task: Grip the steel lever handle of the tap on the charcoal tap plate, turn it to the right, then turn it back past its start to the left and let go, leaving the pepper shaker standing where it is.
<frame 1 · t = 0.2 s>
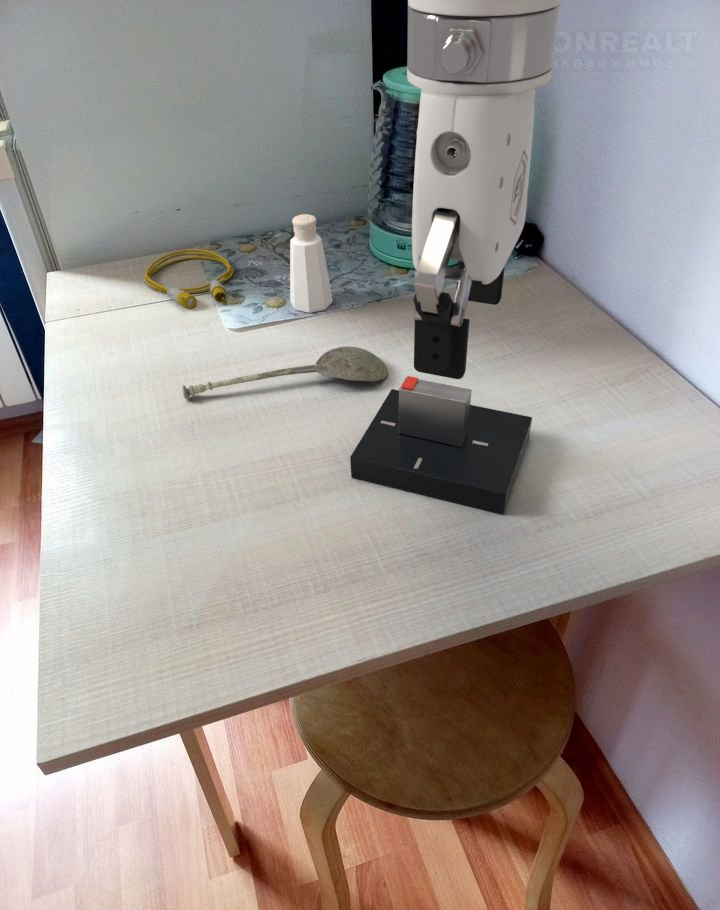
hand: (460, 334, 48), 18 cm above the table, tool pointing down, fingers open, 9 cm apart
pepper shaker: (311, 304, 89), on the table
tap plate: (442, 457, 66), on the table
soupspoon: (288, 385, 76), on the table
tap handle: (434, 411, 63), point 5 cm above the table, hinge at 0.0°
extension cord: (189, 283, 95), on the table
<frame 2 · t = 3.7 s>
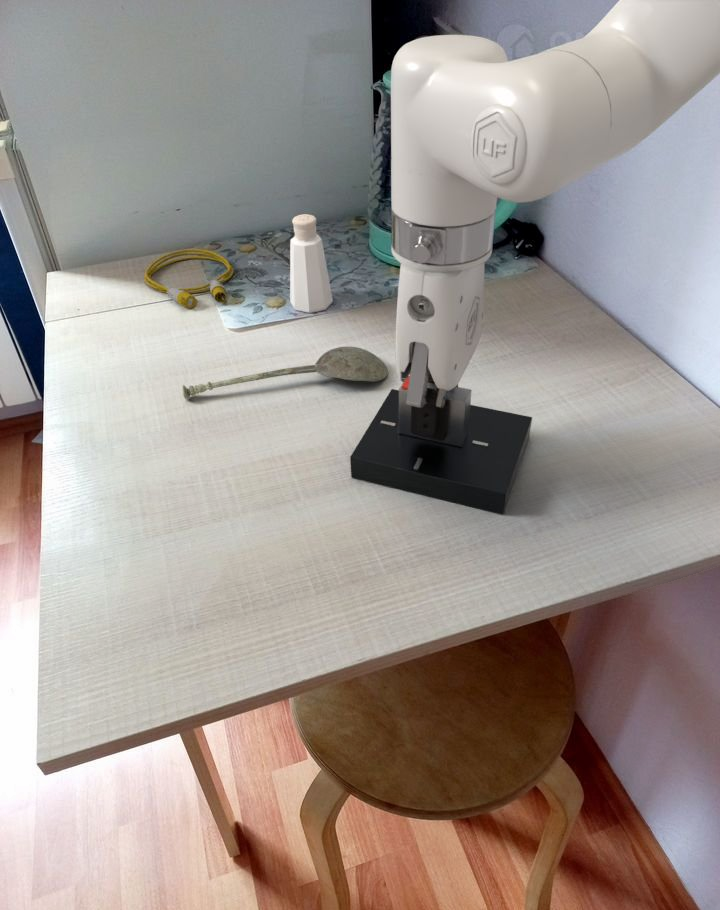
hand: (433, 425, 64), 4 cm above the table, tool pointing down, fingers closed on tap handle, 2 cm apart
tap handle: (434, 411, 63), point 5 cm above the table, hinge at 0.0°, touching gripper
everything else where it was.
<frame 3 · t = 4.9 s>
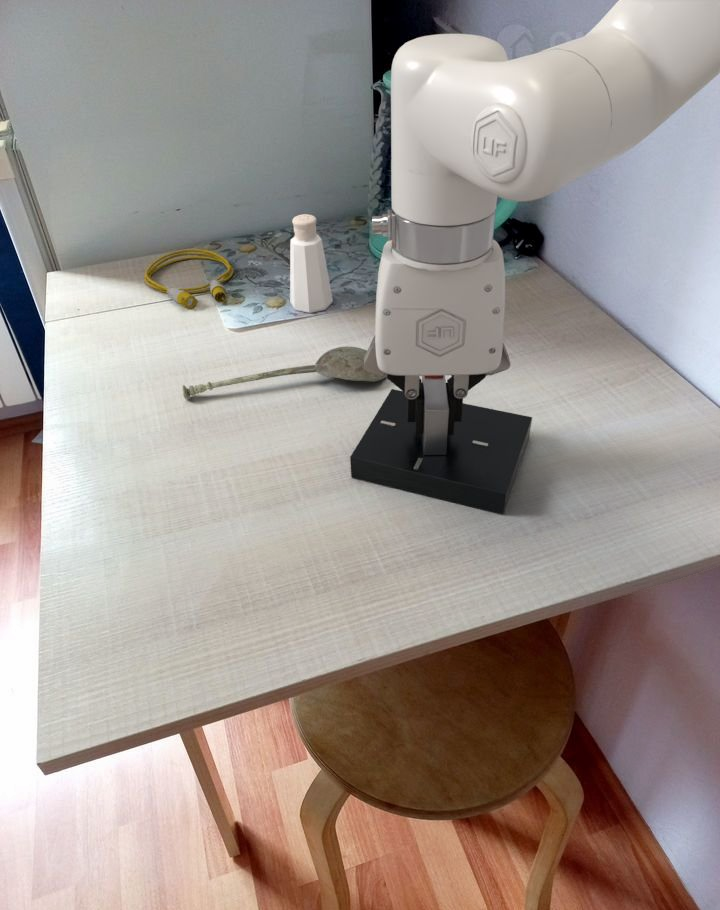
hand: (433, 424, 64), 4 cm above the table, tool pointing down, fingers closed on tap handle, 2 cm apart
tap handle: (434, 411, 63), point 5 cm above the table, hinge at -69.8°, touching gripper
everything else where it was.
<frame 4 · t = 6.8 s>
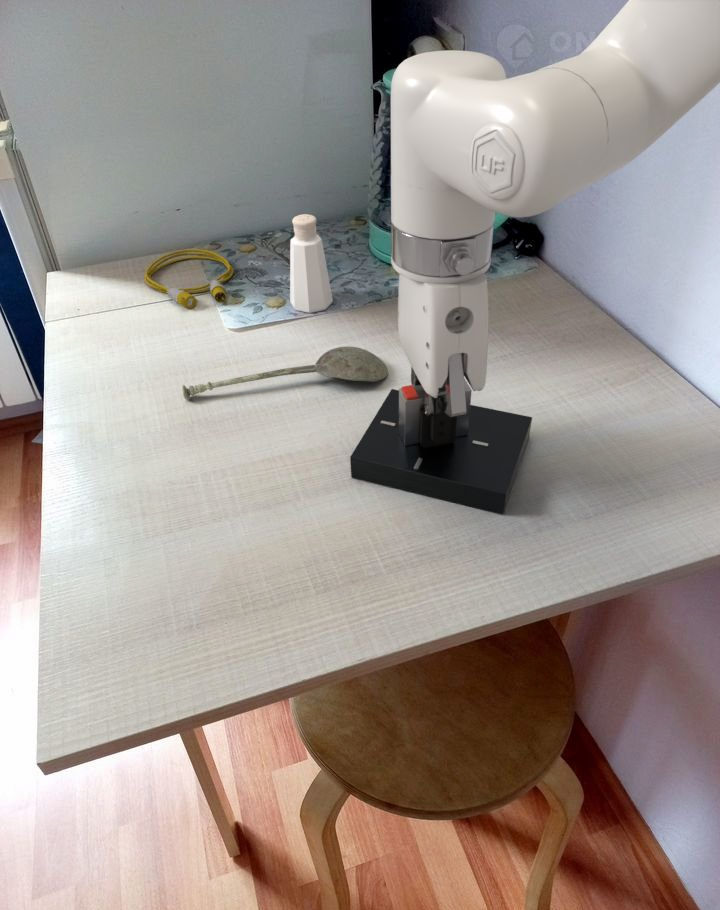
hand: (432, 432, 65), 3 cm above the table, tool pointing down, fingers closed, pressing on tap handle, tap plate
tap handle: (434, 411, 63), point 5 cm above the table, hinge at 34.9°, touching gripper
everything else where it was.
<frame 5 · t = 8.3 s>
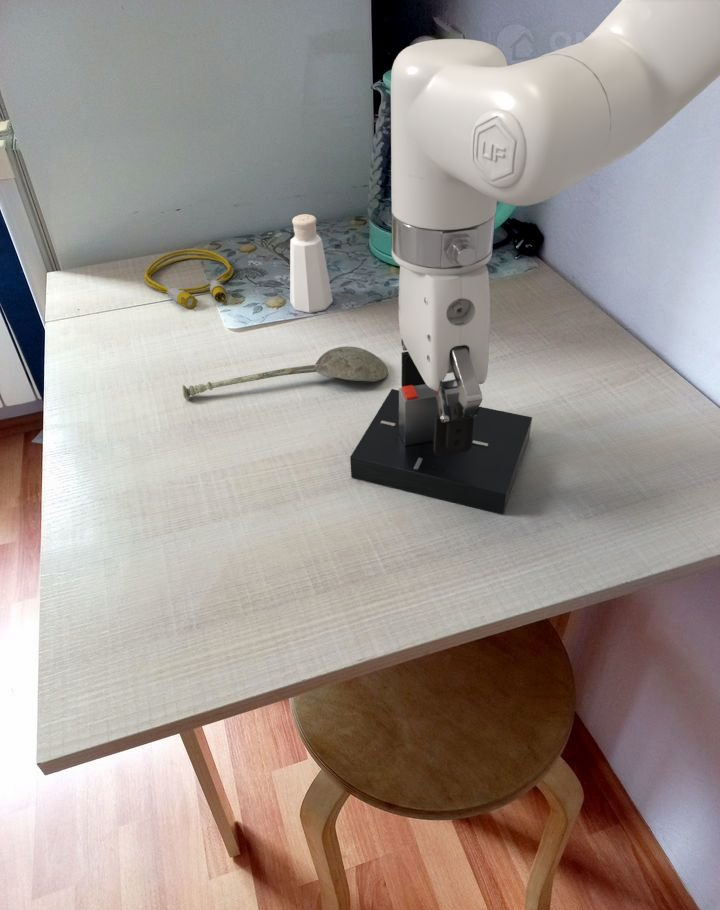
hand: (434, 417, 63), 4 cm above the table, tool pointing down, fingers open, 9 cm apart
tap handle: (434, 411, 63), point 5 cm above the table, hinge at 34.8°
everything else where it was.
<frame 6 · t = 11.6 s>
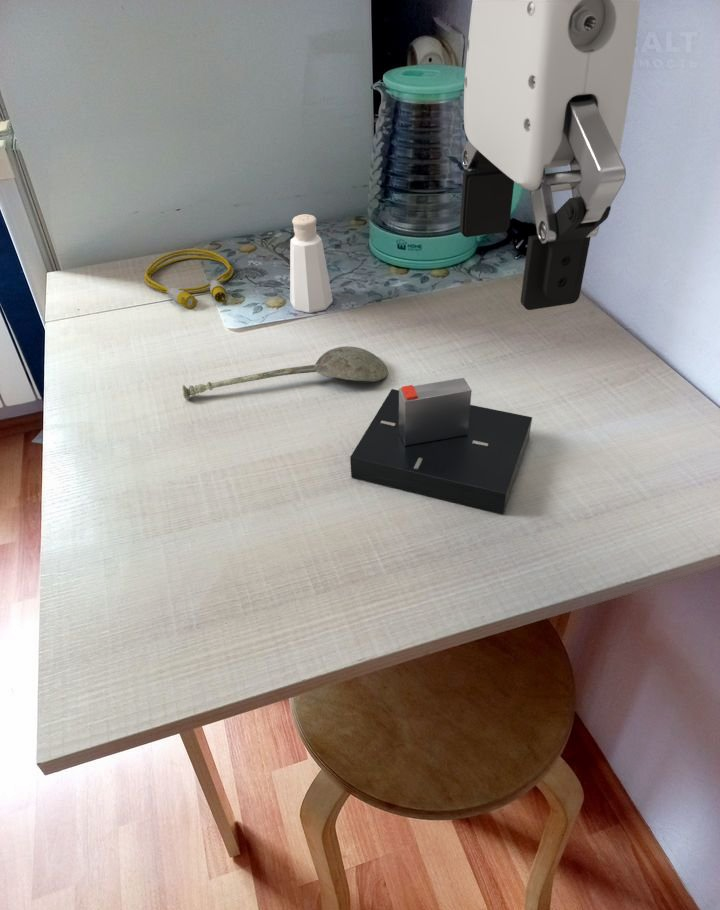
hand: (513, 265, 42), 24 cm above the table, tool pointing down, fingers open, 9 cm apart
nothing on the table moved.
at the end: tap handle reached -70° during the clip, +35° at the end; tap handle at +35° (first picture: +0°); pepper shaker moved 0.2 cm from its start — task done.
